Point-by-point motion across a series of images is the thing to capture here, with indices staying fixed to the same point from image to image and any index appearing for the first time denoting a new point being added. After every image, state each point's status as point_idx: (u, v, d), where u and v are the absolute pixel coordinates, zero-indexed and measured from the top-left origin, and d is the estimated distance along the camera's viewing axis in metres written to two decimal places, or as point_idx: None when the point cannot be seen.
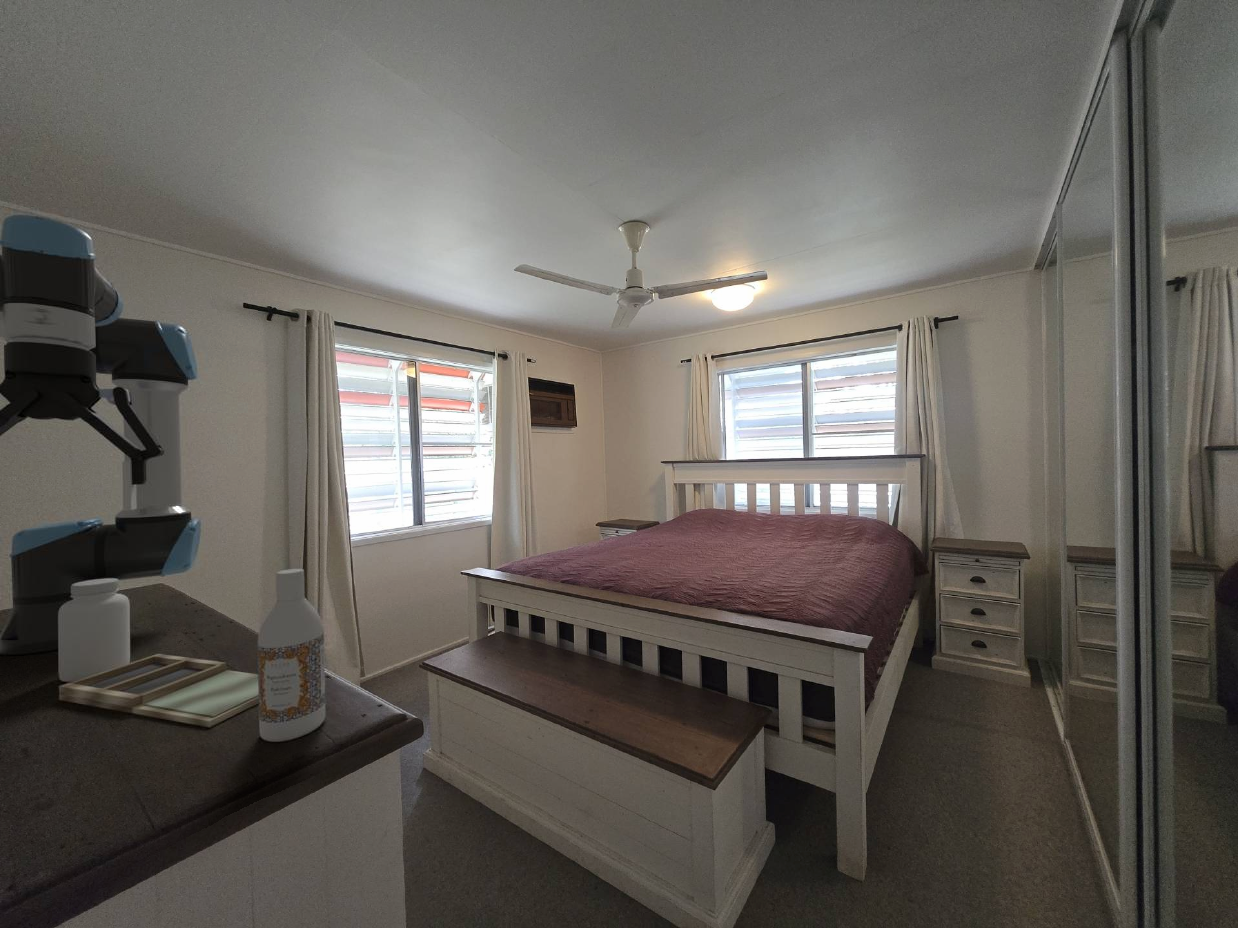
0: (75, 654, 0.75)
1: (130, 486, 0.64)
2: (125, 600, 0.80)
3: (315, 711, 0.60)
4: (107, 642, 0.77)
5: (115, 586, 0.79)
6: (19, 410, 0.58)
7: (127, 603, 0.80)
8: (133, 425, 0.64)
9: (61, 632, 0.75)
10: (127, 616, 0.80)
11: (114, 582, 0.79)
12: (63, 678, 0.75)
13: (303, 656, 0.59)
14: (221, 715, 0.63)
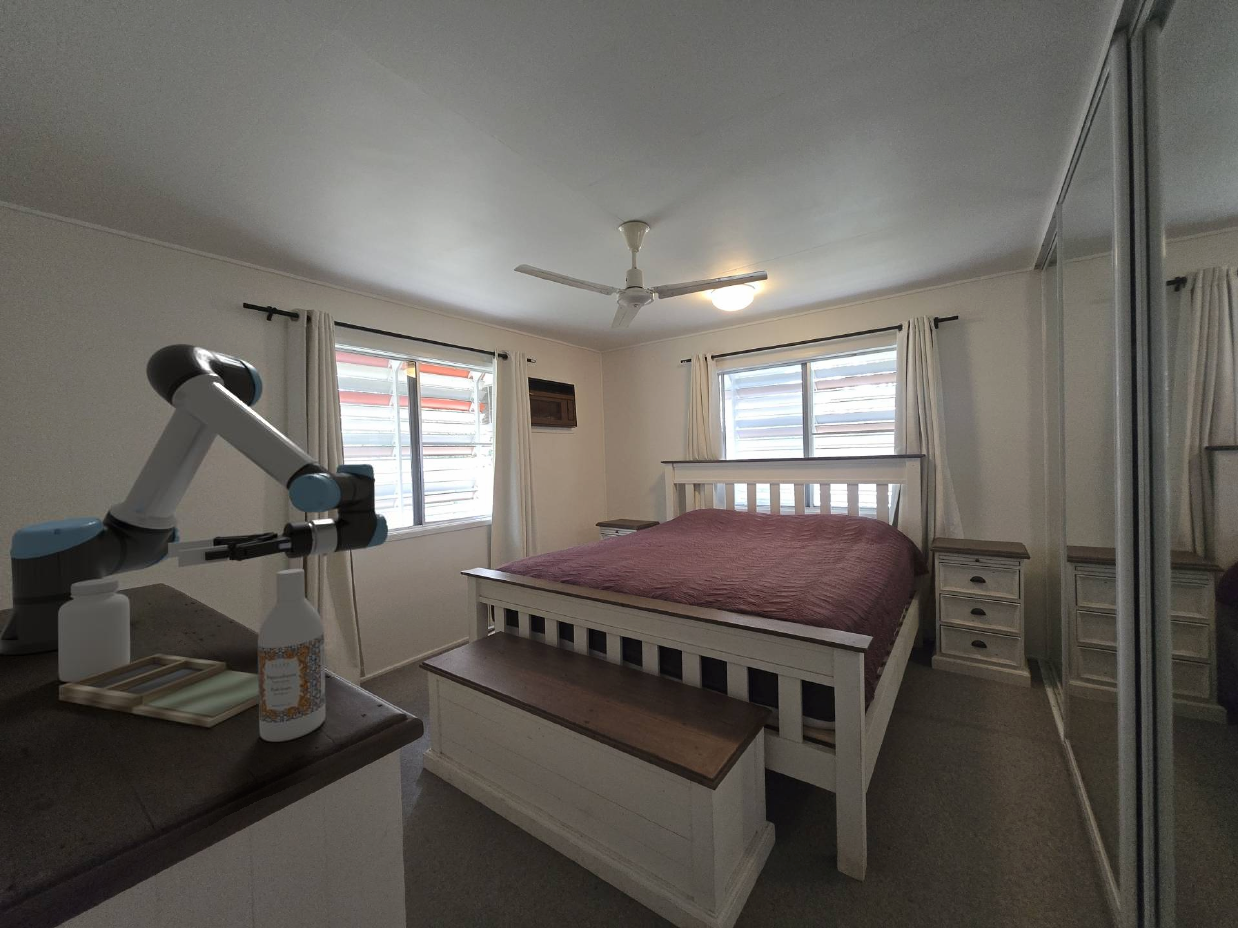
0: (75, 654, 0.75)
1: None
2: (125, 600, 0.80)
3: (315, 711, 0.60)
4: (107, 642, 0.77)
5: (115, 586, 0.79)
6: None
7: (127, 603, 0.80)
8: None
9: (61, 632, 0.75)
10: (127, 616, 0.80)
11: (114, 582, 0.79)
12: (63, 678, 0.75)
13: (303, 656, 0.59)
14: (221, 715, 0.63)
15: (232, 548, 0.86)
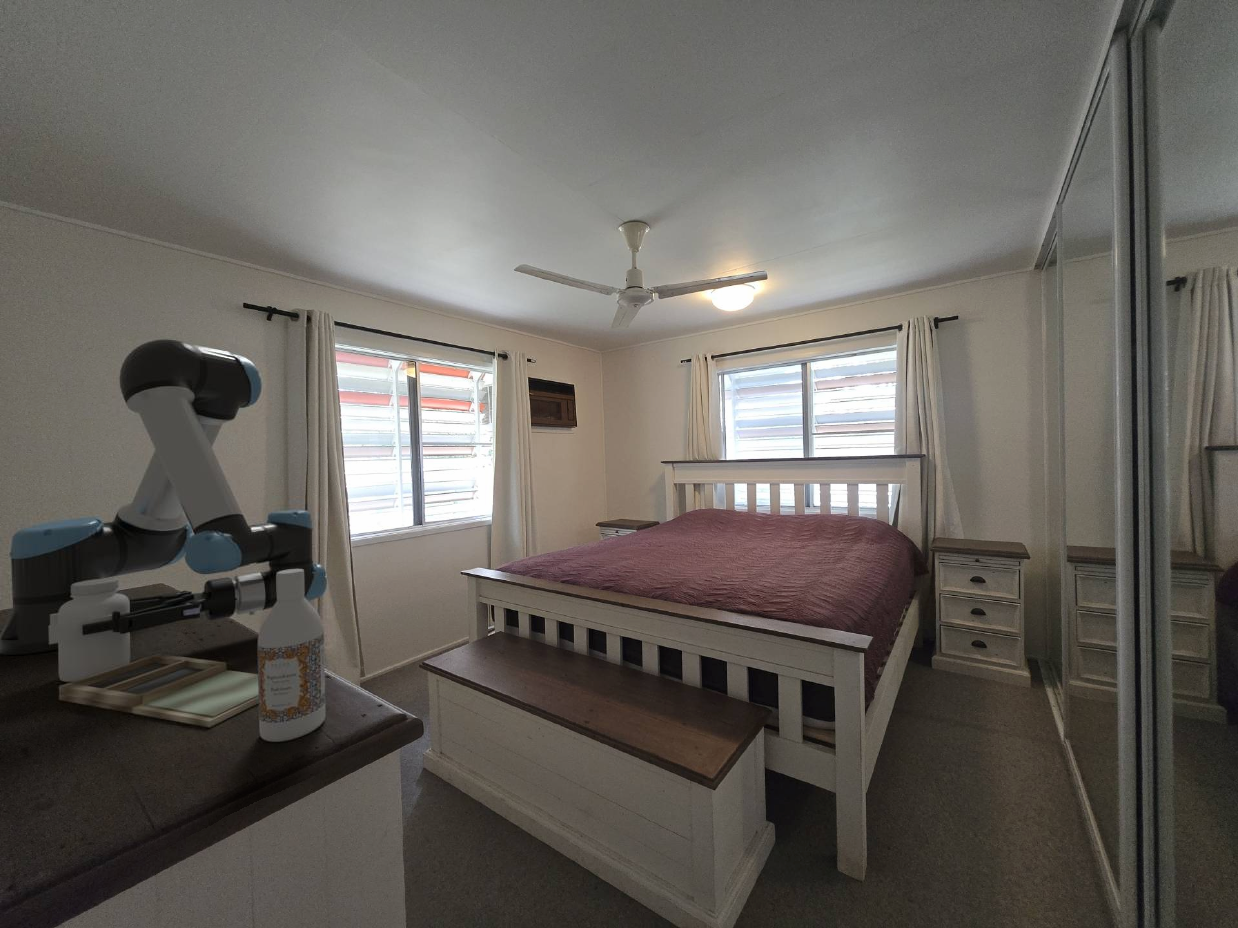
0: (75, 654, 0.75)
1: None
2: (125, 600, 0.80)
3: (315, 711, 0.60)
4: (107, 642, 0.77)
5: (115, 586, 0.79)
6: None
7: (127, 603, 0.80)
8: None
9: None
10: None
11: (114, 582, 0.79)
12: (63, 678, 0.75)
13: (303, 656, 0.59)
14: (221, 715, 0.63)
15: (116, 619, 0.76)
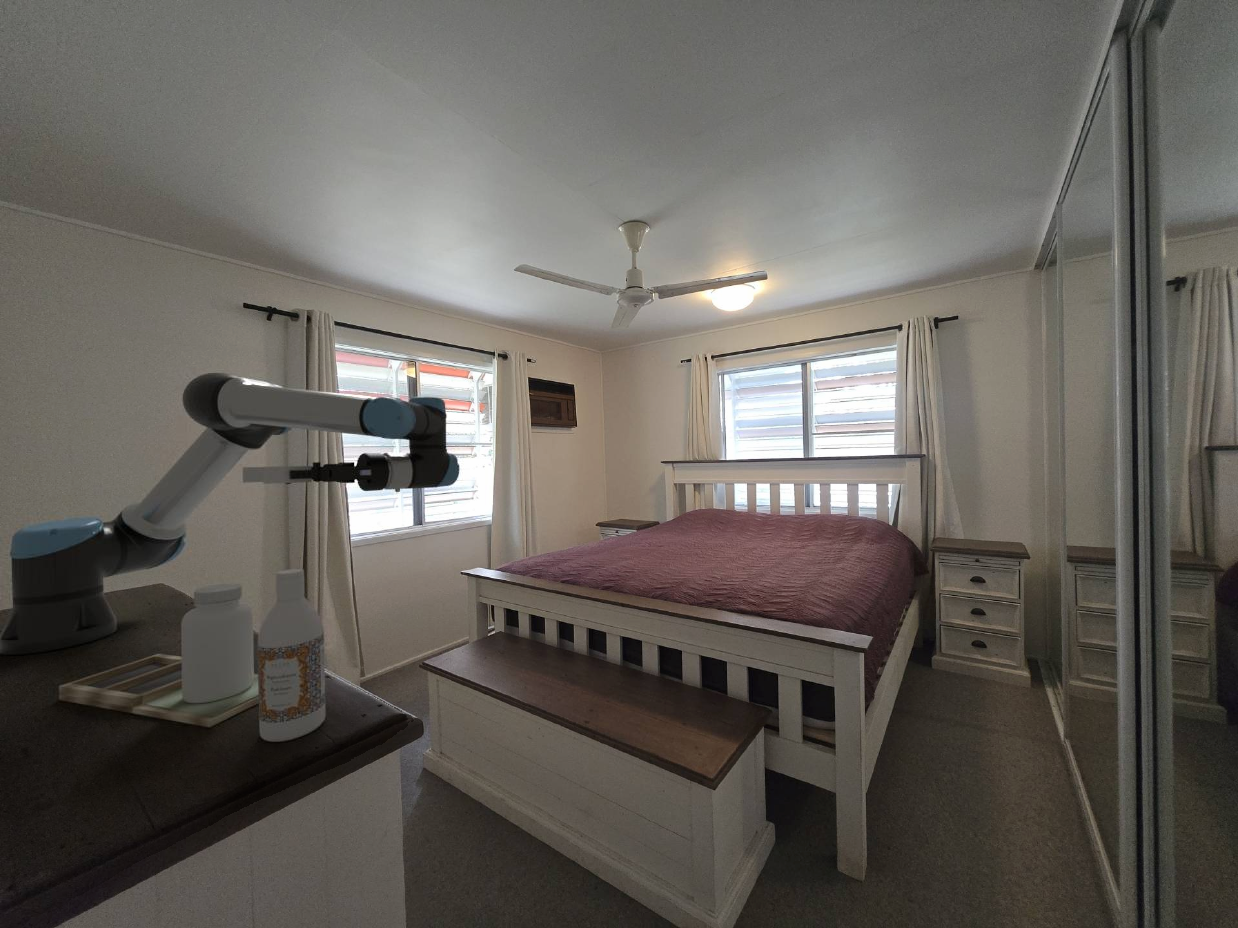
0: (203, 671, 0.65)
1: None
2: (250, 609, 0.70)
3: (315, 711, 0.60)
4: (234, 657, 0.67)
5: (240, 593, 0.70)
6: None
7: (252, 612, 0.71)
8: None
9: (186, 646, 0.65)
10: (252, 627, 0.71)
11: (239, 588, 0.69)
12: (189, 699, 0.65)
13: (303, 656, 0.59)
14: (221, 715, 0.63)
15: (316, 468, 0.80)
